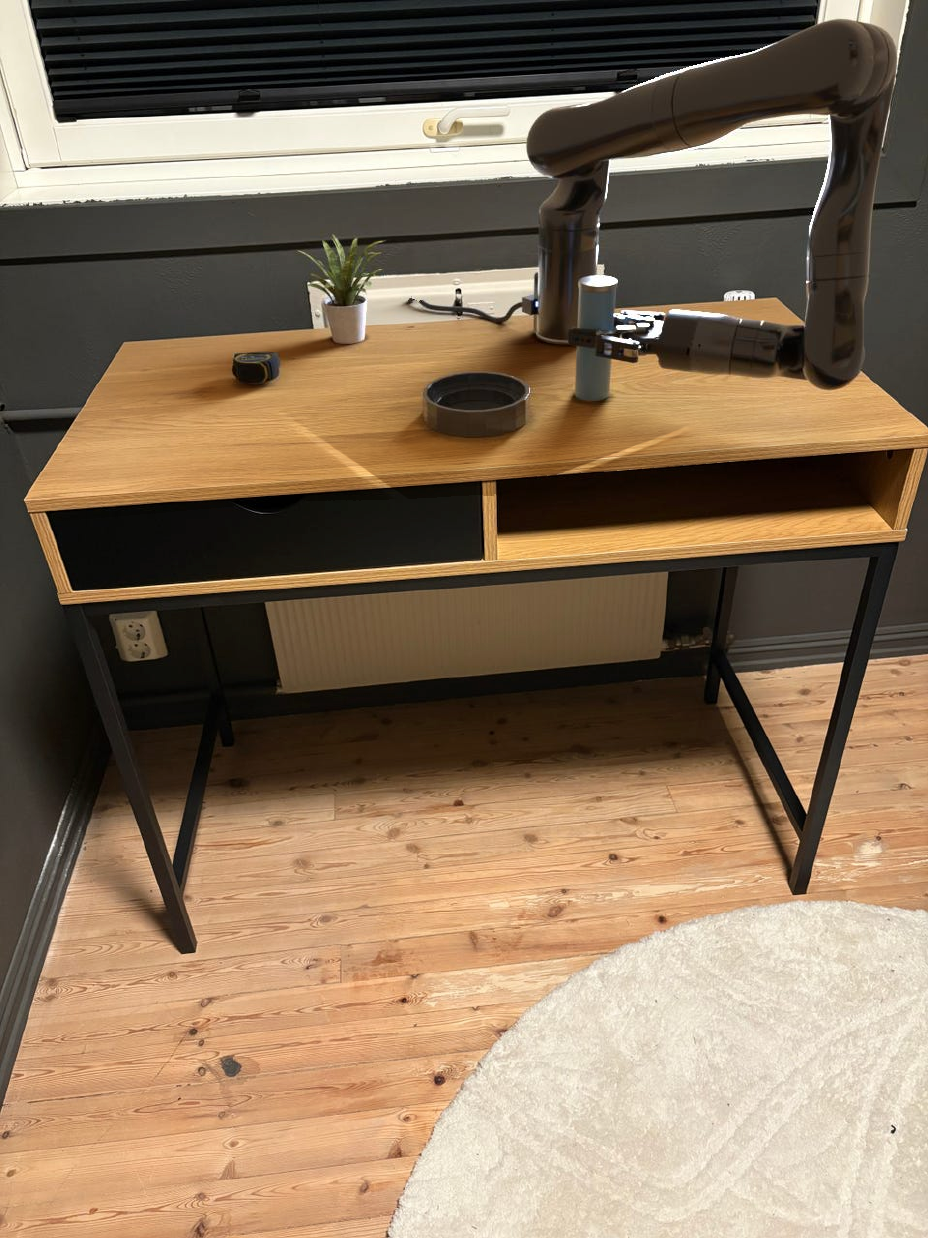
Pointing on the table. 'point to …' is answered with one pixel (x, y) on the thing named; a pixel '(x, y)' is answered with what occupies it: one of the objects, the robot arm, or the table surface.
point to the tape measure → (256, 367)
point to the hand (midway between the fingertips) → (577, 328)
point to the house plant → (345, 293)
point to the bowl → (476, 404)
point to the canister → (597, 316)
